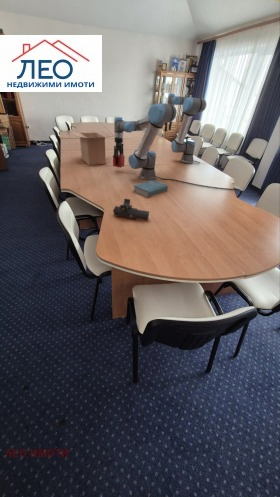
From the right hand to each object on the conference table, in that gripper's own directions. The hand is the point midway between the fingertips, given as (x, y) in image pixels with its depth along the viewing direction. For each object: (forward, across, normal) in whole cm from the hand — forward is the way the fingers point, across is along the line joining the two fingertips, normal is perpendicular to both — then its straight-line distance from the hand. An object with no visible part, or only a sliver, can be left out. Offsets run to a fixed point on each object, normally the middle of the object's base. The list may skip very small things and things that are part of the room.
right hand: (167, 130), depth 265 cm
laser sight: (+27, +171, +43) cm, 178 cm away
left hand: (+19, +97, -10) cm, 99 cm away
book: (+27, +123, +36) cm, 131 cm away
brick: (+21, +97, -10) cm, 100 cm away
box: (+27, +82, -50) cm, 100 cm away
